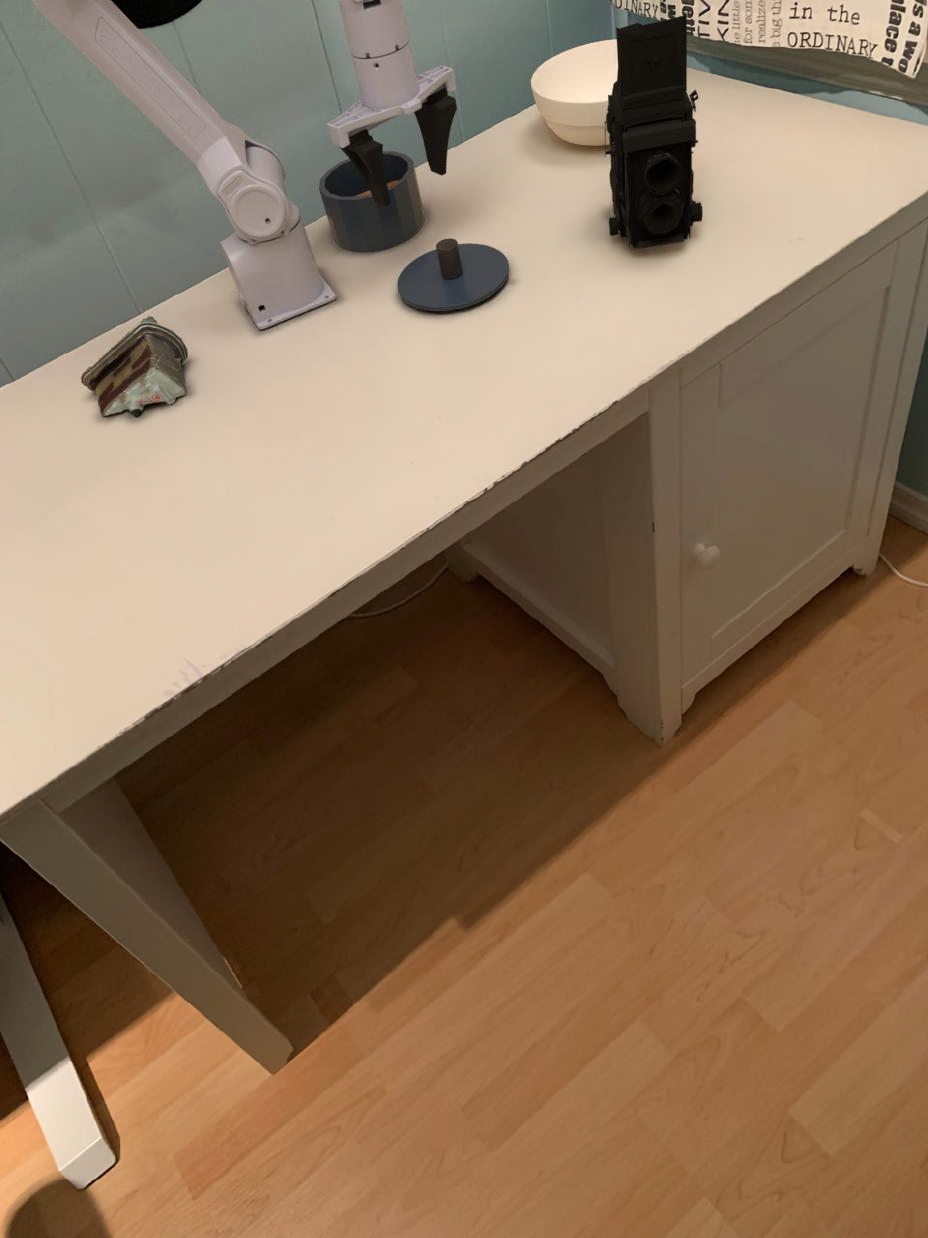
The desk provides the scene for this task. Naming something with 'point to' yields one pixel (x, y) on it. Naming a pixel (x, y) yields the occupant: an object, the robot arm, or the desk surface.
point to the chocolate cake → (139, 370)
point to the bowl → (577, 91)
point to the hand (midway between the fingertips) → (411, 187)
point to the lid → (453, 276)
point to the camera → (652, 136)
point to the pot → (372, 205)
